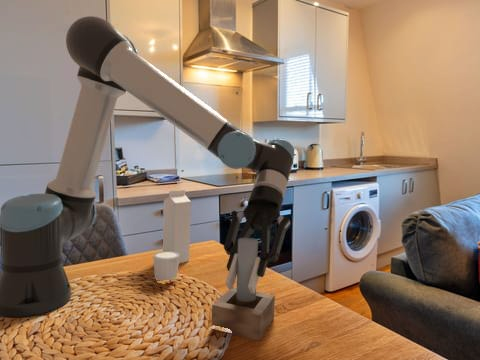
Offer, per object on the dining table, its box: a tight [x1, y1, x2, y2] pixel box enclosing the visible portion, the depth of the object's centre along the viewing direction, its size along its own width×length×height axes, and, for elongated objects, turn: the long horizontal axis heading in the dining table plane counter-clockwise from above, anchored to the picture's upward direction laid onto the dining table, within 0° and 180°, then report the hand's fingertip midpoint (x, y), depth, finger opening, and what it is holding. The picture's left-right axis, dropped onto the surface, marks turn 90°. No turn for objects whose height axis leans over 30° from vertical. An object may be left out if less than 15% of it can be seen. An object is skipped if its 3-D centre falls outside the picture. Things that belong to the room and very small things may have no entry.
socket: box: [211, 286, 276, 342], centre depth 74 cm, size 10×10×5 cm
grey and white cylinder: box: [152, 251, 180, 281], centre depth 95 cm, size 7×7×7 cm
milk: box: [162, 189, 192, 264], centre depth 110 cm, size 6×6×22 cm
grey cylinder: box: [236, 237, 259, 302], centre depth 73 cm, size 4×4×12 cm
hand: (239, 288), depth 69 cm, fingers closed on grey cylinder, 4 cm apart
